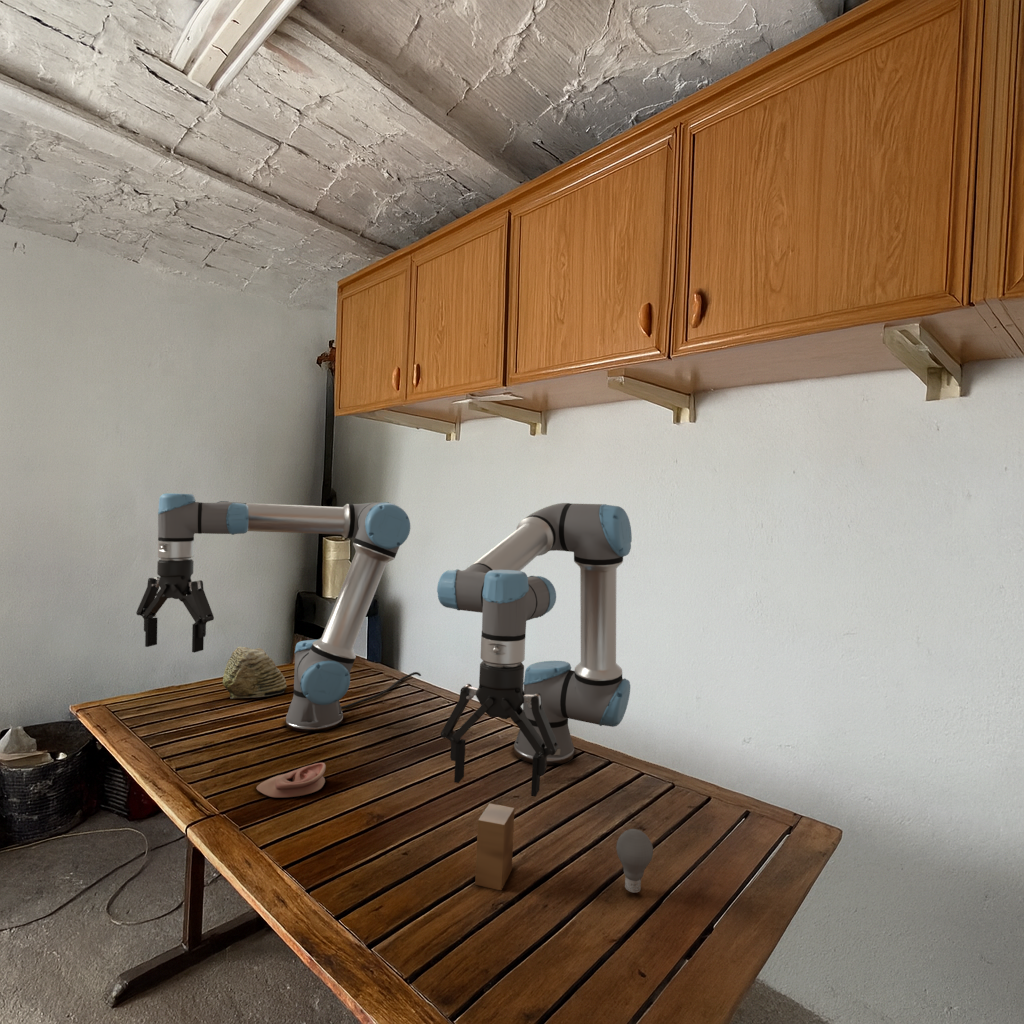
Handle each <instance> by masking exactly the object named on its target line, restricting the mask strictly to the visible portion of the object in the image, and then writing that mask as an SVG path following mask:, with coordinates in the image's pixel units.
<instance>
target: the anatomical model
mask: <svg viewBox="0 0 1024 1024" xmlns="http://www.w3.org/2000/svg"><path fill="white" fill-rule="evenodd" d="M326 768H327V765H326V763H325V762H316V763H313V764H309V765H306V766H302V767H300V768H297V769H294V770H292V771H289V772H286V773H282V774H278V775H275V776H273V777H270V778H267V779H265V780H264V781H262V782H261V783H259V784H258V785H256V790H257V792H259V793H261V794H263V795H264V796H267V797H270V798H275V799H278V798H293V797H294V798H295V797H300V796H301V797H302V796H306V795H309V794H312V793H315V792H318V791H320V790H321V789H322V788H323V787H324V785H325V783H326V778H325V777H324V775H325V772H326V770H327V769H326Z"/></svg>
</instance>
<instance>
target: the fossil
mask: <svg viewBox="0 0 1024 1024" xmlns="http://www.w3.org/2000/svg"><path fill="white" fill-rule="evenodd" d="M222 676H223V677H222V685H223V687H224V688H225V690H226V691H228V693H229V698H230V699H250V698H264V697H271V696H275V695H281V694H284V693H285V691H286V689H287V687H288V686H287V680H286V678H285V676H284V674H283V673H282V672H281V669H279V668H278V667H277V665H276V663H275V662H274V660H273V659H272V658H271V657H270V656H269V655H268V654H267V653H266V652H265V650H264V649H263V648H260V647H258V648H251V647H247V646H246V647H245V646H238V647H237V648H236V649H235V650H233V651H232V653H231V656H230V657H229V659H228V660H227V663H226V666H225V668H224V671H223V675H222Z"/></svg>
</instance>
